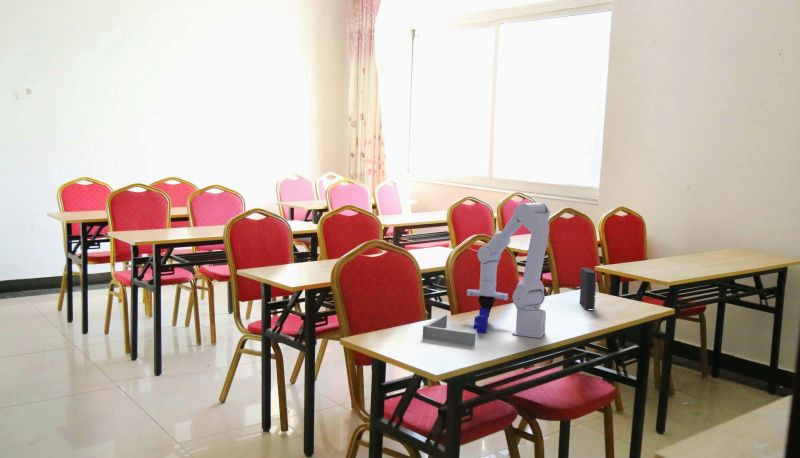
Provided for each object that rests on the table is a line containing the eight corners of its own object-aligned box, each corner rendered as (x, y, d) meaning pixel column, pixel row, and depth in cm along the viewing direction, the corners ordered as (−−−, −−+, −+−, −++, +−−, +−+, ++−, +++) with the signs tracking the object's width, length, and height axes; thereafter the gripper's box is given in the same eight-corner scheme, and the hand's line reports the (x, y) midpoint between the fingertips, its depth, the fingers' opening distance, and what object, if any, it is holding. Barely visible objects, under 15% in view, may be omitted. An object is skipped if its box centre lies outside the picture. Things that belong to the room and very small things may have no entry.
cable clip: (474, 324, 257) (475, 307, 256) (487, 325, 256) (488, 308, 255) (472, 333, 245) (473, 315, 244) (485, 334, 244) (486, 316, 244)
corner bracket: (491, 332, 246) (491, 320, 246) (473, 346, 229) (474, 333, 228) (443, 325, 253) (443, 314, 252) (422, 338, 236) (423, 326, 235)
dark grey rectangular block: (595, 310, 283) (598, 272, 281) (584, 310, 283) (586, 272, 281) (588, 304, 294) (591, 267, 292) (577, 304, 294) (580, 267, 292)
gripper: (511, 280, 260) (509, 317, 262) (472, 275, 266) (470, 312, 267) (505, 283, 253) (503, 321, 255) (465, 279, 259) (464, 316, 261)
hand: (486, 317), depth 261 cm, fingers closed
